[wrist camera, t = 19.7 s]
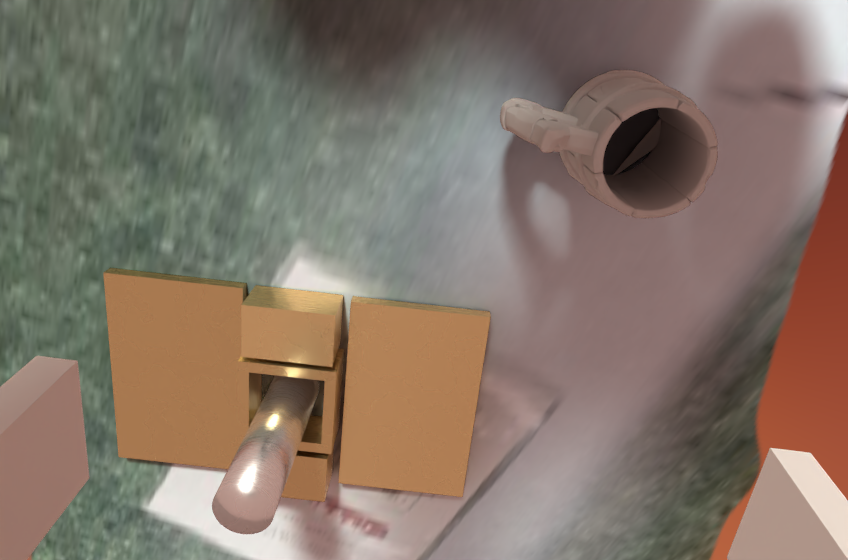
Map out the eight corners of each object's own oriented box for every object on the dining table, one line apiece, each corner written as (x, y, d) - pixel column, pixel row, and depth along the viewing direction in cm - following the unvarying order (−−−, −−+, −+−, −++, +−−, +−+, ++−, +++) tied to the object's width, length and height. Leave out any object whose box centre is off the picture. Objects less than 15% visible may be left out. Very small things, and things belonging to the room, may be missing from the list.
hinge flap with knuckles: (255, 285, 48) (241, 304, 45) (489, 311, 48) (492, 333, 45) (254, 465, 54) (241, 494, 51) (462, 488, 54) (462, 519, 51)
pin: (274, 361, 51) (211, 480, 38) (320, 366, 51) (274, 487, 38) (273, 402, 52) (212, 530, 39) (318, 407, 52) (273, 537, 39)
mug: (649, 198, 45) (714, 259, 34) (479, 159, 44) (488, 207, 33) (691, 83, 42) (777, 109, 31) (510, 40, 42) (530, 50, 30)
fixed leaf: (110, 267, 48) (85, 286, 45) (347, 294, 48) (340, 314, 45) (124, 449, 54) (103, 477, 51) (335, 473, 54) (328, 502, 51)
